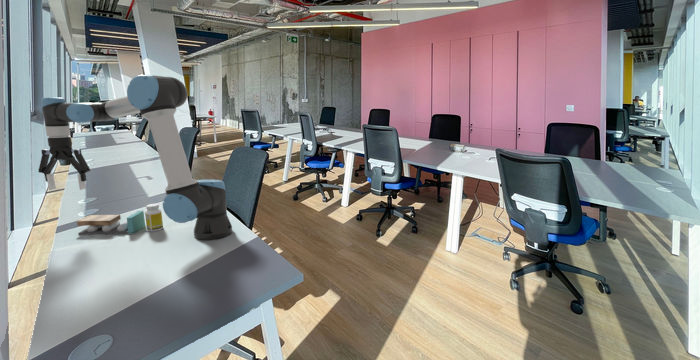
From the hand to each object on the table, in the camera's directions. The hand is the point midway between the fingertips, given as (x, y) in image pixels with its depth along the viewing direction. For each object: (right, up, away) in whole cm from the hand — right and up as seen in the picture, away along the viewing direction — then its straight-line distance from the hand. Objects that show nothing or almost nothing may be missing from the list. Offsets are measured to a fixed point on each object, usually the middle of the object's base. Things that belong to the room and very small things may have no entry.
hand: (67, 189), depth 151 cm
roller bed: (+16, -18, +5) cm, 24 cm away
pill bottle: (+33, -18, +6) cm, 38 cm away
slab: (+11, -14, +4) cm, 18 cm away
